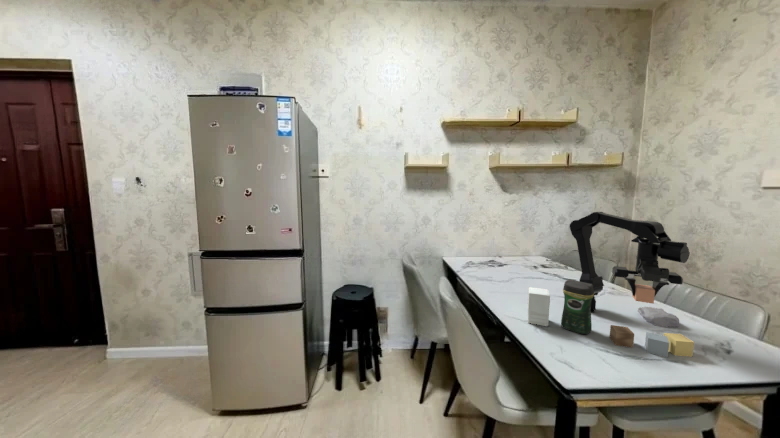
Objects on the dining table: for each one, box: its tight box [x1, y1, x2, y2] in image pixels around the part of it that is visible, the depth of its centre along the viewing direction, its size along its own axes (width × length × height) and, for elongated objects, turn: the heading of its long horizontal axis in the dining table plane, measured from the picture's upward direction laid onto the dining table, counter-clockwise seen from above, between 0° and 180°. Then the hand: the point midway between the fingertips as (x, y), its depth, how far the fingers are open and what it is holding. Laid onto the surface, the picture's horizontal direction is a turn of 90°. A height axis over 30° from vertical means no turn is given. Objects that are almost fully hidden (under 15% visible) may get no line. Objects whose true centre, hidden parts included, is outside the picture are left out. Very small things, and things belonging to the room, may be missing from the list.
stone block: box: [637, 306, 680, 328], centre depth 116 cm, size 12×5×10 cm
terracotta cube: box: [631, 283, 656, 304], centre depth 107 cm, size 5×5×5 cm
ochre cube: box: [663, 332, 695, 358], centre depth 94 cm, size 5×5×5 cm
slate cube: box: [644, 331, 669, 358], centre depth 95 cm, size 5×5×5 cm
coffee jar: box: [560, 279, 595, 335], centre depth 108 cm, size 10×8×19 cm
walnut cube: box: [609, 324, 635, 349], centre depth 100 cm, size 5×5×5 cm
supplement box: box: [526, 286, 551, 327], centre depth 115 cm, size 7×7×13 cm
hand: (642, 297), depth 107 cm, fingers closed on terracotta cube, 5 cm apart
